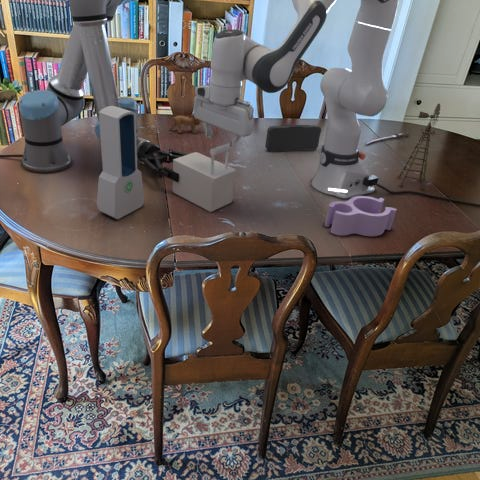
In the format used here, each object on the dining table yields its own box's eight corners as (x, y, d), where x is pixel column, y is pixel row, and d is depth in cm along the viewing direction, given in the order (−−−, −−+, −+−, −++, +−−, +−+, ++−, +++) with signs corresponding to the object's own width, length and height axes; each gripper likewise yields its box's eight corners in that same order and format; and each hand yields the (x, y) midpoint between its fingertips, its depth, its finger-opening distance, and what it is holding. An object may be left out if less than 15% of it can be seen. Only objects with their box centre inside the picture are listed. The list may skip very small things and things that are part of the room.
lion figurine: (200, 128, 202) (201, 108, 197) (204, 133, 198) (205, 112, 193) (167, 129, 197) (167, 108, 192) (170, 134, 193) (170, 113, 188)
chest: (232, 201, 149) (235, 173, 144) (210, 212, 142) (212, 182, 137) (194, 183, 158) (195, 155, 152) (172, 192, 151) (172, 163, 145)
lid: (236, 173, 143) (239, 145, 138) (213, 182, 136) (215, 153, 131) (195, 155, 152) (197, 127, 147) (172, 163, 145) (173, 134, 140)
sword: (404, 132, 222) (404, 130, 221) (409, 135, 220) (410, 132, 219) (360, 144, 206) (361, 142, 205) (366, 147, 204) (366, 144, 203)
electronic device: (115, 221, 132) (108, 118, 116) (96, 212, 135) (87, 110, 119) (145, 205, 142) (142, 107, 125) (126, 197, 145) (122, 101, 128)
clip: (337, 240, 135) (342, 219, 131) (318, 218, 145) (322, 198, 141) (395, 233, 141) (402, 213, 137) (373, 213, 151) (378, 194, 147)
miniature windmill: (423, 190, 169) (451, 109, 153) (399, 186, 170) (425, 105, 154) (420, 180, 177) (446, 101, 161) (397, 176, 178) (421, 97, 162)
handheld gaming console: (315, 147, 196) (319, 124, 190) (317, 149, 194) (322, 126, 188) (264, 149, 189) (267, 125, 183) (266, 152, 187) (269, 127, 181)
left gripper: (169, 153, 170) (213, 174, 159) (118, 170, 155) (163, 194, 144) (169, 134, 166) (215, 154, 155) (117, 149, 151) (163, 172, 140)
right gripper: (261, 102, 125) (255, 150, 132) (206, 83, 135) (203, 129, 143) (246, 106, 121) (241, 155, 128) (190, 86, 131) (188, 133, 138)
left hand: (190, 173), depth 149 cm, fingers closed on chest, 10 cm apart
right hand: (220, 141), depth 135 cm, fingers open, 8 cm apart
